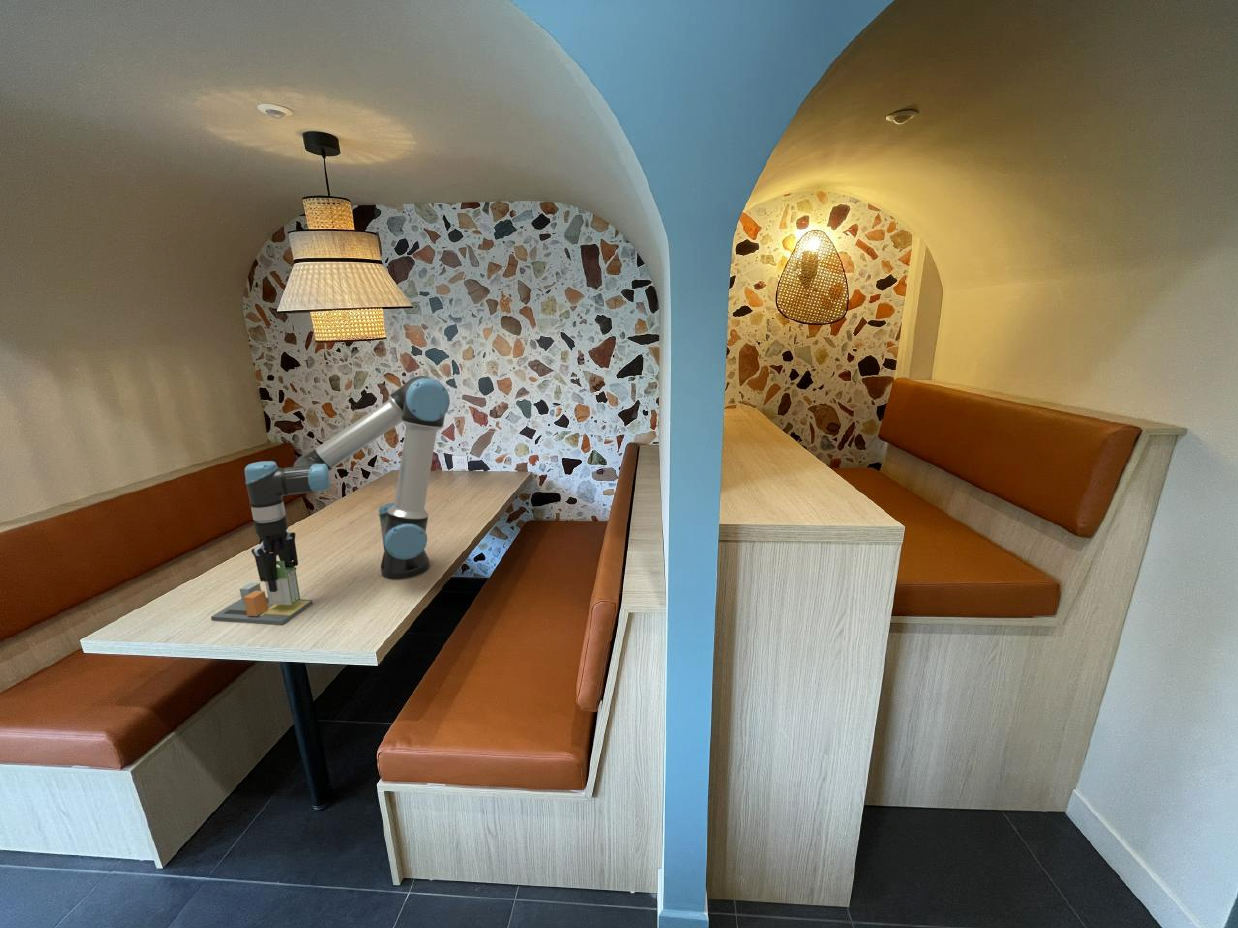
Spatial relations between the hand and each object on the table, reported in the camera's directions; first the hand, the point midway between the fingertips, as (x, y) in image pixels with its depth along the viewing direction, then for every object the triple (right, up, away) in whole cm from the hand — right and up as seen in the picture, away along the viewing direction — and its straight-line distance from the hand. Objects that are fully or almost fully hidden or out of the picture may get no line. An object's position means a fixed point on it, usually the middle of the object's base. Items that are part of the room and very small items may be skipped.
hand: (284, 596), depth 153 cm
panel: (-7, -5, +1) cm, 8 cm away
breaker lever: (-6, -4, -2) cm, 7 cm away
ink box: (0, -2, +1) cm, 2 cm away
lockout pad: (0, -3, +1) cm, 3 cm away
